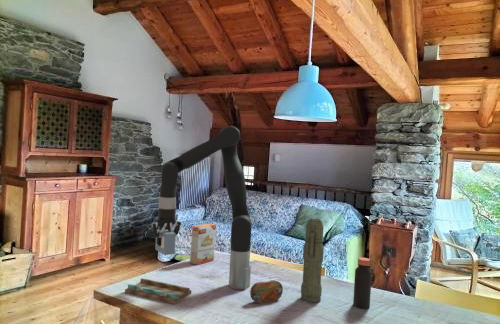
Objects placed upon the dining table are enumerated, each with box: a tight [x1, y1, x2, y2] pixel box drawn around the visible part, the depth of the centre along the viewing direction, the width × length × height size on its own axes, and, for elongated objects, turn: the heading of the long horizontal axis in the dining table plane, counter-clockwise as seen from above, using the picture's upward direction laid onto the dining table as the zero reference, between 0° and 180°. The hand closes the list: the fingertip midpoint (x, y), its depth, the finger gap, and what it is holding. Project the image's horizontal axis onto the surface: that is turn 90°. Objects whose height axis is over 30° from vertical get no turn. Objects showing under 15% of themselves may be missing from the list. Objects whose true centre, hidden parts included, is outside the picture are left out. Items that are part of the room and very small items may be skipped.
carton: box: [154, 229, 177, 256], centre depth 161 cm, size 5×10×9 cm, turn 39°
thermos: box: [300, 218, 325, 304], centre depth 158 cm, size 9×12×35 cm
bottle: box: [352, 257, 373, 309], centre depth 154 cm, size 7×7×20 cm
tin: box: [249, 279, 284, 304], centre depth 154 cm, size 15×3×8 cm, turn 117°
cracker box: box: [189, 223, 217, 266], centre depth 204 cm, size 14×6×21 cm, turn 143°
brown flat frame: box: [124, 278, 192, 305], centre depth 156 cm, size 25×13×3 cm, turn 69°
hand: (164, 244), depth 161 cm, fingers closed on carton, 5 cm apart
